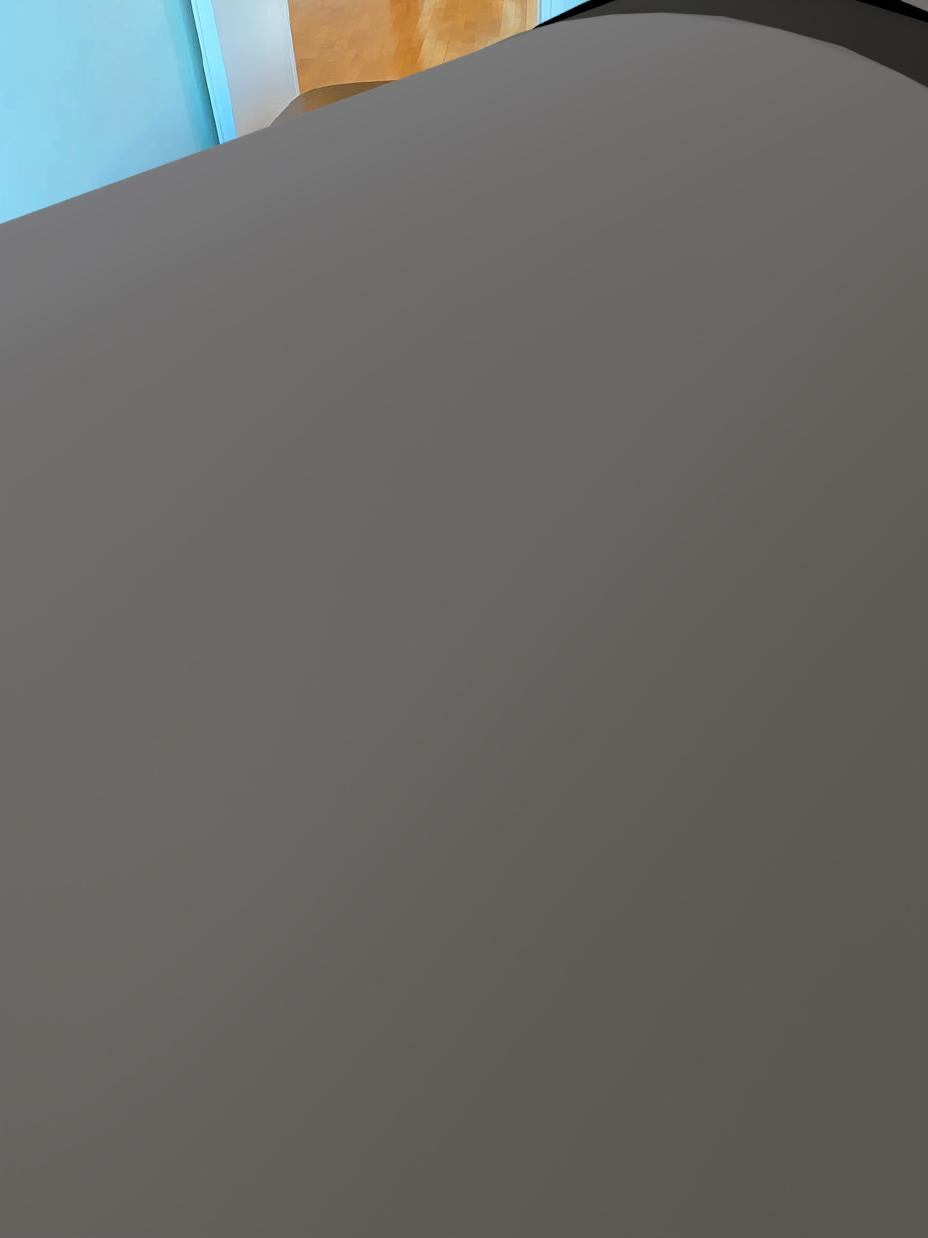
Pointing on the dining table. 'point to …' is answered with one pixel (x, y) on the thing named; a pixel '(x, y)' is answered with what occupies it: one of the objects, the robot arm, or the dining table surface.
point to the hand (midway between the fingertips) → (552, 694)
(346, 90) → the dining table surface
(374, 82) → the dining table surface
